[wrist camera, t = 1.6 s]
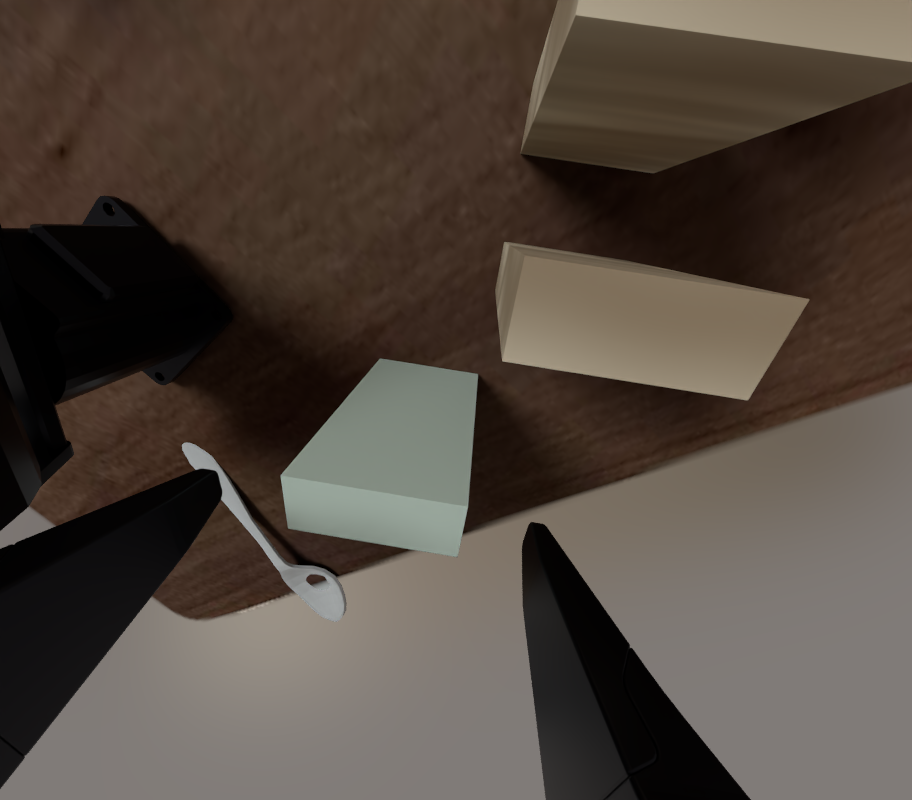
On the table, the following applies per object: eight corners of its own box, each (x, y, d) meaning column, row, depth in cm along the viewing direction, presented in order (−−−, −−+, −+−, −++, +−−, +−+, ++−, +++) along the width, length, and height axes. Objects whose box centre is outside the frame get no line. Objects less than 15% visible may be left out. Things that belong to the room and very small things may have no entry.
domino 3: (607, 308, 15) (747, 400, 7) (495, 290, 15) (502, 361, 7) (623, 259, 14) (809, 299, 6) (504, 241, 14) (524, 256, 6)
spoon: (325, 607, 28) (316, 628, 26) (127, 408, 20) (99, 422, 19) (365, 597, 27) (358, 618, 25) (173, 383, 19) (147, 395, 18)
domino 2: (653, 173, 12) (952, 67, 4) (520, 153, 12) (575, 15, 4) (676, 104, 11) (1108, -189, 3) (533, 83, 12) (631, -249, 4)
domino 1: (471, 408, 18) (457, 557, 10) (379, 393, 18) (288, 528, 10) (478, 374, 17) (467, 506, 9) (380, 358, 17) (280, 475, 9)
